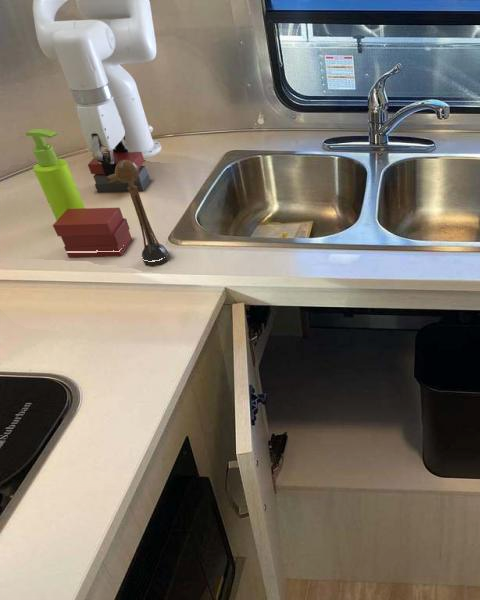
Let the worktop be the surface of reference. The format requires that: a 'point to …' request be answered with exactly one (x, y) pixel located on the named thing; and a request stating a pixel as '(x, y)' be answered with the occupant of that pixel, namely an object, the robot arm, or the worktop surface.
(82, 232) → the red books
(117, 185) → the grey books
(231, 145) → the worktop surface
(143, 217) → the wooden tabletop sculpture
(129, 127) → the robot arm
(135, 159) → the red book
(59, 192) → the soap dispenser
